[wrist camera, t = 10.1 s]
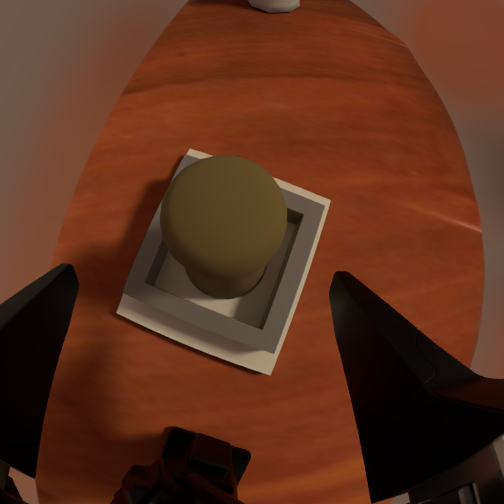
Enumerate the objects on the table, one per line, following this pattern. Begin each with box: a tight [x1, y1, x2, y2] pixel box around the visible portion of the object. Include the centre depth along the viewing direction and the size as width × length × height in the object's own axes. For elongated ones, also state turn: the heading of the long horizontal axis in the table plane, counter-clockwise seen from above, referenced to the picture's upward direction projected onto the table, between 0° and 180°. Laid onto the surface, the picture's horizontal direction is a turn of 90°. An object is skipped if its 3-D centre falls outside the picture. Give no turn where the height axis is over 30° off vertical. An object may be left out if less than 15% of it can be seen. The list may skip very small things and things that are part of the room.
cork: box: [160, 155, 287, 300], centre depth 16 cm, size 6×6×11 cm
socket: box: [116, 149, 331, 375], centre depth 20 cm, size 14×12×4 cm
